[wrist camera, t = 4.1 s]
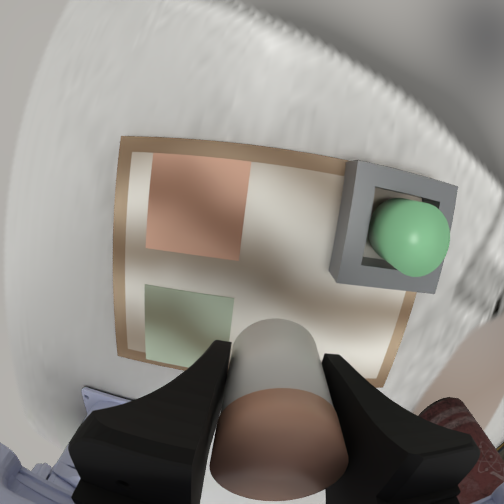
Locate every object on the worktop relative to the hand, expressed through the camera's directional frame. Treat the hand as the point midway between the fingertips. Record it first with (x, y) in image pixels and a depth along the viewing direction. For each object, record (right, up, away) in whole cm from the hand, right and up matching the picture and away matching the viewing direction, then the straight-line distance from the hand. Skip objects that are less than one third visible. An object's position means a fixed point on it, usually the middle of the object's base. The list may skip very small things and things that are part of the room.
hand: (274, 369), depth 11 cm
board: (0, +3, +8) cm, 9 cm away
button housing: (+8, +6, +7) cm, 12 cm away
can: (+17, -12, +12) cm, 24 cm away
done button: (+8, +6, +5) cm, 11 cm away
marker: (0, 0, +1) cm, 1 cm away
